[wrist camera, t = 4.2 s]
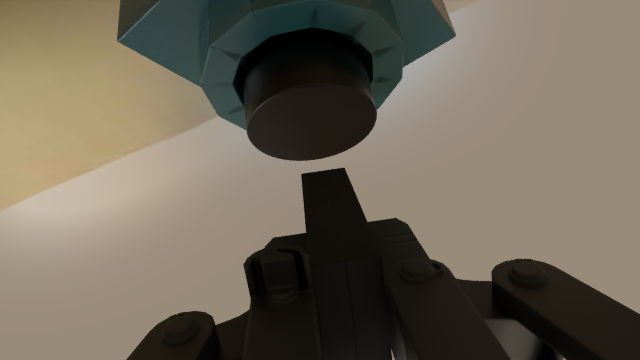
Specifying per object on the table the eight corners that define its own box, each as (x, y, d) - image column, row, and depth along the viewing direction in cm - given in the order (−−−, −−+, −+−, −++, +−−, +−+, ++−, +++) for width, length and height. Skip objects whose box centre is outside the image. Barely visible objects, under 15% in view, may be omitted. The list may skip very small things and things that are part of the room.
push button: (215, 76, 17) (218, 132, 16) (313, 3, 15) (324, 62, 14) (297, 124, 21) (304, 173, 19) (386, 71, 18) (400, 123, 17)
